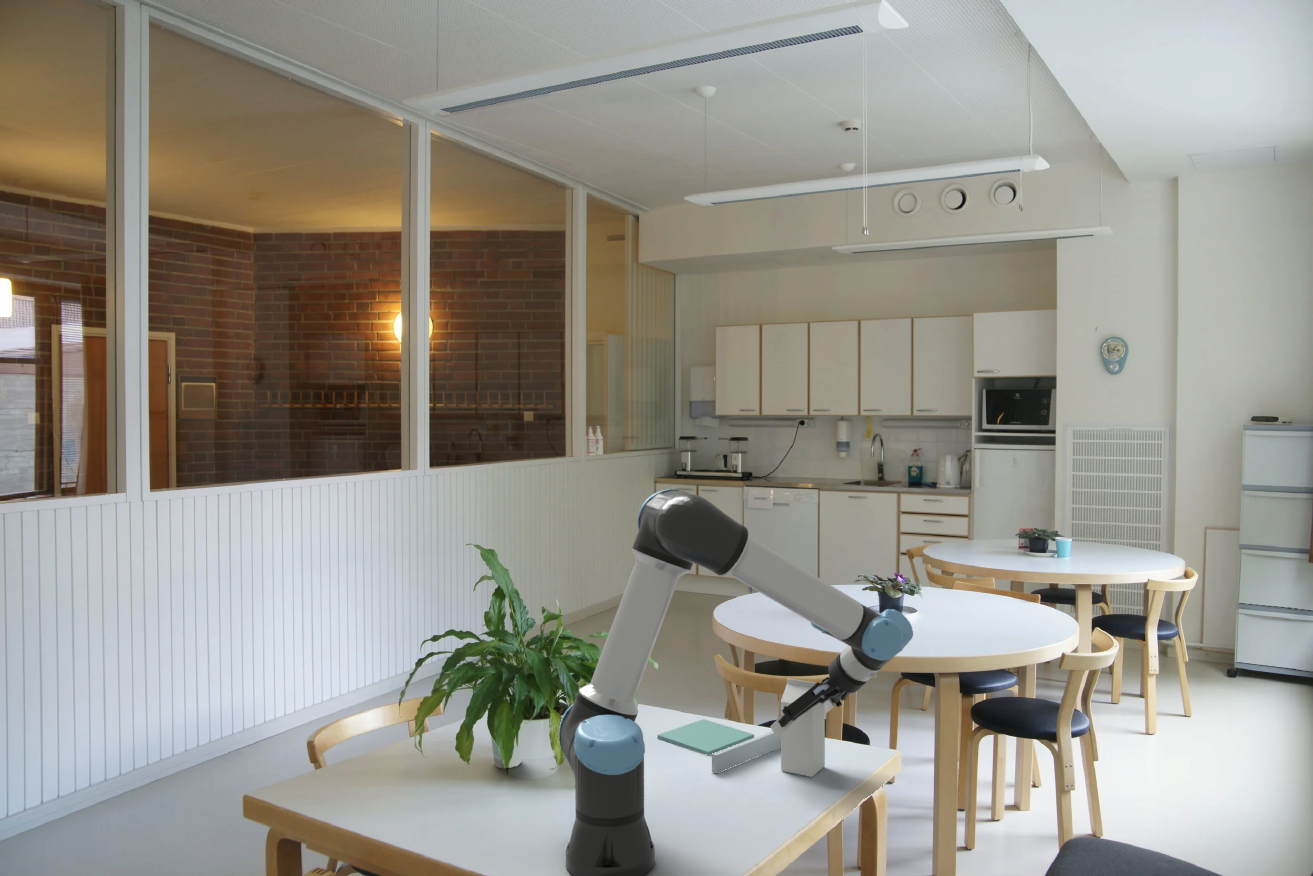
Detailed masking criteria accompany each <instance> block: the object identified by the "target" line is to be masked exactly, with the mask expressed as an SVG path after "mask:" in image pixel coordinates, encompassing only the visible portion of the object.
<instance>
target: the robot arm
mask: <svg viewBox="0 0 1313 876" xmlns="http://www.w3.org/2000/svg"><path fill="white" fill-rule="evenodd" d="M637 529H638V530H637V534H636V536H635V539H634V543H633V545H632V548H631V551H632V553H633V556H634V560H635V563H634V566H633V567H632V571H631V574H630V576H629V579H628V581H627V584H626V586H625V589H624V592H623V594H622V597H621V600H620V603H619V605H618V608H617V611H616V614H615V615H614V619H613V622H612V623H611V627H610V630H609V632H608V635H607V637H606V641H605V643H604V646H603V648H602V651H601V654H600V657H599V658H598V661H597V664H596V667H595V670H594V672H593V675H592V677H591V680H590V683H588V684H586V685H584V686H581V687H580V688H579V689H578V691H577V695H576V697H575V700H574V702H573V703H572V704H571V705H570V706H569V707H568V708H567V709H566V711H564V713H563V715H562V716H561V717H562V719H561V722H560V726H559V741H560V746H561V749H560V750H561V751H562V753H563V756H564V757H565V758H566V760H567V763H568V764H569V766H570V768H571V770H572V773H573V775H574V781H575V783H574V785H575V787H574V788H575V789H574V790H575V818H574V819H575V820H574V823H573V827H572V831H571V834H570V835H571V836H570V838H569V839H570V840H569V842H568V844H567V846H566V849H565V868H566V870H567V871H568V872H569V873H570V874H571V875H572V876H645V875H648V873H649V872H651V871H652V870H653V868H654V866H655V864H656V849H655V844H654V842H653V840H652V837H651V833H650V829H649V827H648V824H647V821H646V818H645V752H646V750H645V749H646V745H645V741H644V733H643V731H642V728H641V727H640V725H639V724H638V723H637V722H636V719H637V717H638V713H639V709H638V706H637V705H636V703H635V698H636V695H637V691H638V689H639V687H640V684H641V681H642V679H643V676H644V673H645V671H646V668H647V665H648V663H649V661H650V658H651V654H652V652H653V649H654V647H655V643H656V641H657V639H658V635H659V633H660V630H661V627H662V625H663V622H664V619H665V616H666V614H667V611H668V609H669V606H670V603H671V601H672V598H673V595H674V593H675V590H676V587H677V584H678V582H679V579H680V577H682V576H683V575H686V574H688V573H690V572H691V569H692V567H693V566H694V565H697V566H700V567H702V568H705V569H707V570H708V571H711V572H713V573H714V574H716V575H717V576H719V577H725V576H727V575H729V576H731V577H732V578H735V579H736V580H738V581H739V582H741V583H743V584H745V585H747V587H750V588H751V589H753V590H755V591H757V592H758V593H760V594H762V595H764V596H765V597H767V598H769V599H770V600H772V601H774V602H776V603H777V604H779V605H780V606H782V607H784V608H786V609H787V610H789V611H791V612H793V614H794V613H795V614H796V615H797V616H799V617H801V618H803V619H805V620H806V621H808V622H810V625H811V626H812V627H813V628H814V629H815V630H818V631H819V632H821V633H822V634H825V635H828V636H830V637H831V638H833V639H836V640H837V641H840V642H842V643H844V644H845V645H847V646H846V647H845V648H844V649H843V650H842V651H841V653H840V654H838V655H837V656H835V658H834V659H833V660H832V661H831V662H830V663H829V665H828V667H827V668H828V676H827V677H825V678H824V679H823V680H822V681H821V682H815V683H816V684H815V685H814V686H813V687H812V688H811V689H809V690H808V691H807V692H806V693H804V694H803V695H802V696H800V697H799V698H798V699H796V700H795V701H794V702H792V703H791V704H790V705H789V706H787V707H786V706H784V709H783V710H782V712H783V714H782V715H781V714H780V716H779V717H778V718H777V719H776V720H775V721H774V722H773V723H772V724H771V725H770V726H769V727H770V728H771V731H773V732H774V734H775V735H776V737H777V738H778V737H780V736H781V735H782V734H783V733H784V732H785V731H786V730H787V729H788V728H789V727H790V726H791V725H792V724H794V723H795V722H796V721H797V718H798V717H800V716H801V715H802V714H804V713H805V712H807V711H808V710H810V709H811V708H813V707H814V706H816V705H817V704H819V703H824V702H825V715H827V714H828V713H829V711H831V710H832V709H833V708H834V707H835V706H836V707H837V708H840V707H841V706H842V705H843V704H842V701H845V700H846V699H847V698H848V696H849V695H850V694H854V693H856V692H858V691H859V690H860V689H861V688H862V687H863V686H864V685H865V684H867V682H868V681H869V680H871V679H876V678H877V677H878V675H877V673H878V672H879V671H880V670H882V668H883V667H884V666H885V665H887V664H888V663H889V662H890V661H892V659H894V658H895V657H896V656H897V655H898V654H899V653H900V652H902V651H903V650H904V648H905V647H906V646H907V645H909V643H910V641H912V639H913V636H914V629H913V627H912V624H911V622H910V621H909V619H908V618H907V617H906V616H905V615H904V614H903V613H901V612H900V611H898V610H897V609H893V608H892V609H890V608H887V609H884V610H883V611H882V612H880V613H878V612H876V611H875V610H872V609H871V608H869V607H867V605H864V604H862V603H861V602H859V601H858V600H856V599H854V598H852V597H851V596H849V595H848V594H847V593H844V592H842V591H841V590H839V589H838V588H836V587H834V586H833V585H831V584H829V583H828V582H826V581H825V580H823V579H822V578H820V577H817V576H816V575H814V574H813V573H811V572H809V571H808V570H806V569H805V568H803V567H802V566H800V565H798V564H796V563H794V562H792V561H791V560H789V558H786V557H784V556H783V555H781V554H780V553H778V552H776V551H775V550H773V549H771V548H770V547H768V546H767V545H764V544H763V543H761V542H759V541H757V540H756V539H754V538H753V537H751V533H750V530H749V529H748V528H747V527H745V526H744V525H743V524H740V523H739V522H738V521H736V520H735V519H734V518H732V517H730V516H729V515H728V514H726V513H725V512H724V511H722V510H721V509H720V508H719V507H717V506H716V505H715V504H714V503H712V502H711V501H709V500H708V499H706V498H704V497H702V496H700V495H698V494H694V493H690V492H686V491H685V490H681V489H678V488H676V489H675V488H674V489H672V488H669V489H663V490H660V491H657V492H655V493H653V494H652V495H650V496H649V497H647V498H646V499H645V500H644V502H643V503H642V504H641V506H640V508H639V511H638V515H637ZM693 564H694V565H693ZM822 697H824V699H823V698H822Z"/></svg>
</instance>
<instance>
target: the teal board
mask: <svg viewBox="0 0 1313 876" xmlns="http://www.w3.org/2000/svg"><path fill="white" fill-rule="evenodd" d="M658 738H659V740H661V739H662V741H665V742H667V743H671V744H673V745H677V746H679V747H682V748H685V749H688V750H691V751H694V750H695V751H694V752H697V753H701V754H702V755H703V754H704V755H705V754H707V755H706V756H710V754H711V755H712V753H715V752H718V751H720V750H722V749H726V748H728V747H731V746H733V745H736V744H739V743H742V742H744V741H747V740H750V739H752V738H755V734H754V733H751V732H747V731H744V730H740V729H737V728H735V727H732V726H727V725H726V724H725V725H724V724H721V723H718V722H714V721H711V720H708V719H705V718H703V719H700V720H697V721H694V722H692V723H689V724H685V725H683V726H679V727H676V728H674V729H671V730H668V731H665V732H663V733H660V734H659V733H658V734H657V739H658Z"/></svg>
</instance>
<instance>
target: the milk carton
mask: <svg viewBox="0 0 1313 876" xmlns="http://www.w3.org/2000/svg"><path fill="white" fill-rule="evenodd" d="M786 682H787V683H786V686H785V688H784V691H783V694H782V697H781V700H780V716H781V715H782V714H783V712H782V710H783V709H784V706H786V707H787V706H789V705H790V704H791V703H792V702H794V701H795V700H796V699H798V698H799V697H800V696H802V695H803V694H804V693H806V692H807V691H808V690H809V689H811V688H812V687H813V686H814V685H815V684H816V683H817V682H815V681H814V682H813V681H807V680H806V681H805V680H802V679H800V680H799V679H794V678H793V679H792V678H787V679H786ZM822 698H823V699H824V697H822ZM825 719H826V714H825V702H824V703H819V704H817V705H816V706H814V707H813V708H811V709H810V710H808V711H807V712H805V713H804V714H802V715H801V716H800V717H798V718H797V721H796V722H795V723H794V724H792V725H791V726H790V727H789V728H788V729H787V730H786V731H785V732H784V733H783V734H782V735H781V748H780V764H781V765H780V770H781V771H782V772H787V773H789V774H790V773H791V774H795V775H800V776H804V775H806V776H805V777H809V776H810V778H813V777H814V776H816V774H818V771H819V772H820V771H821V770H822V769H824V767H826V761H825V760H826V754H825V753H826V745H825V744H826V739H825V738H826V737H825V736H826V732H825V730H826V729H825V728H826V727H825V726H826V723H825V722H826V721H825Z"/></svg>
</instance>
